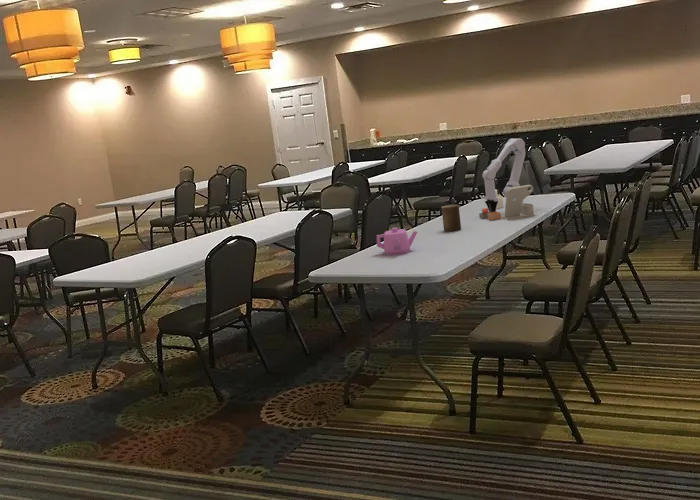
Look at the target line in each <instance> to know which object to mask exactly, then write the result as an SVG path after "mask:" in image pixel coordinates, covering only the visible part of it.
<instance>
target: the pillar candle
mask: <svg viewBox="0 0 700 500" xmlns="http://www.w3.org/2000/svg"><path fill="white" fill-rule="evenodd" d="M440 208H441V214H442V215H441V216H442V224H443V232H449V231H450V232H457V231H461V230H462V223H461V215H460V205H459V204H448V205H443V206H441V207H440ZM460 229H461V230H460ZM456 230H457V231H456Z"/></svg>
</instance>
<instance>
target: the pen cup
mask: <svg viewBox="0 0 700 500" xmlns="http://www.w3.org/2000/svg"><path fill="white" fill-rule="evenodd" d="M487 214H488V218H487V220H488V221H491V220H493V221H498V219H499V220H502V216H501V211H496V212H490V213H487Z"/></svg>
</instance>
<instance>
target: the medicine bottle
mask: <svg viewBox="0 0 700 500" xmlns="http://www.w3.org/2000/svg"><path fill="white" fill-rule="evenodd" d="M495 194H496V197H497V198H498V203H497V206H496V210H500V209H502V208H504V198H503V195H500V189H499V188H495ZM499 208H500V209H499Z"/></svg>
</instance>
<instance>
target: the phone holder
mask: <svg viewBox="0 0 700 500" xmlns="http://www.w3.org/2000/svg"><path fill="white" fill-rule="evenodd" d="M529 188H530V189H529ZM533 191H534V186H533V185H532V184H526V185H525V184H524V185H520V186H518V187H513V188H509V189H508V190H507V194H506V195H505V208H504V216H501V220H505V219H507V220H506V221H512V219H513V220H518V219H523V218H529V217H533V216H535V210H534V204H533V203H523V204H521V202H522V200H523V201H524V200H525V199H526V198H527V197H528V196H530V194H532V193H533ZM514 196H516V197H517V199H516V200H515V201H513V200H512V198H513V197H514ZM520 210H521V211H520ZM517 218H518V219H517Z"/></svg>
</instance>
